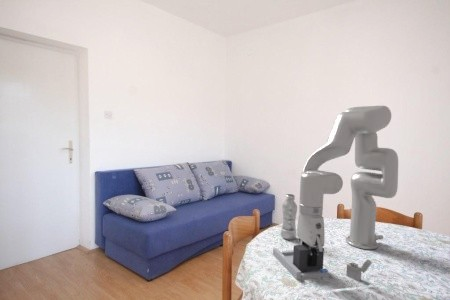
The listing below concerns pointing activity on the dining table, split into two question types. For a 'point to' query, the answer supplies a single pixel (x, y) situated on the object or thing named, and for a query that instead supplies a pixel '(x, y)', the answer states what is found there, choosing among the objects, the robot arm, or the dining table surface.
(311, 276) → the grey tray
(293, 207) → the plastic bottle
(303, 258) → the dark gray block
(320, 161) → the robot arm
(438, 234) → the dining table surface
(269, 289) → the dining table surface
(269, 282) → the dining table surface
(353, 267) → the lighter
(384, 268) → the dining table surface
